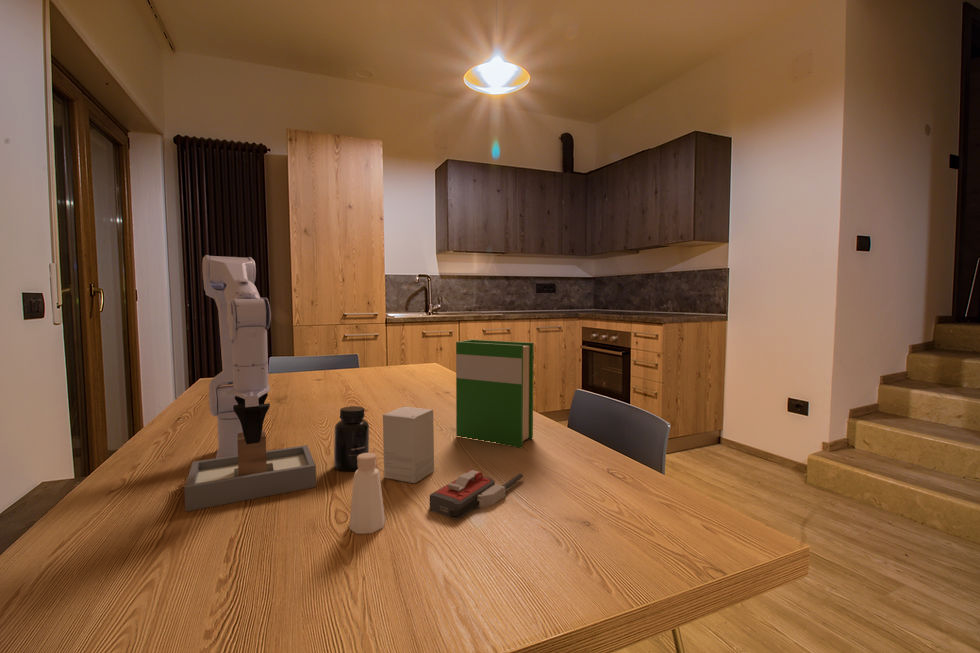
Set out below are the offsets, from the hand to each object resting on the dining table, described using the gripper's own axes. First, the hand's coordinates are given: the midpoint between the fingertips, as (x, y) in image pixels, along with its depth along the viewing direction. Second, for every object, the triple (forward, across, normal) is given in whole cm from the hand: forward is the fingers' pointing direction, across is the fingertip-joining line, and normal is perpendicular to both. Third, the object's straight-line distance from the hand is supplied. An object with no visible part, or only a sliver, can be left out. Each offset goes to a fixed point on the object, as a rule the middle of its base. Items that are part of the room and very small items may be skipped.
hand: (252, 436), depth 82 cm
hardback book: (+9, -3, +53) cm, 54 cm away
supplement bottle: (+9, -1, +18) cm, 20 cm away
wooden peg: (+8, 0, 0) cm, 9 cm away
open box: (+9, 0, 0) cm, 9 cm away
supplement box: (+9, +9, +27) cm, 30 cm away
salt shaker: (+9, +25, +15) cm, 31 cm away
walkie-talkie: (+10, +24, +35) cm, 43 cm away
